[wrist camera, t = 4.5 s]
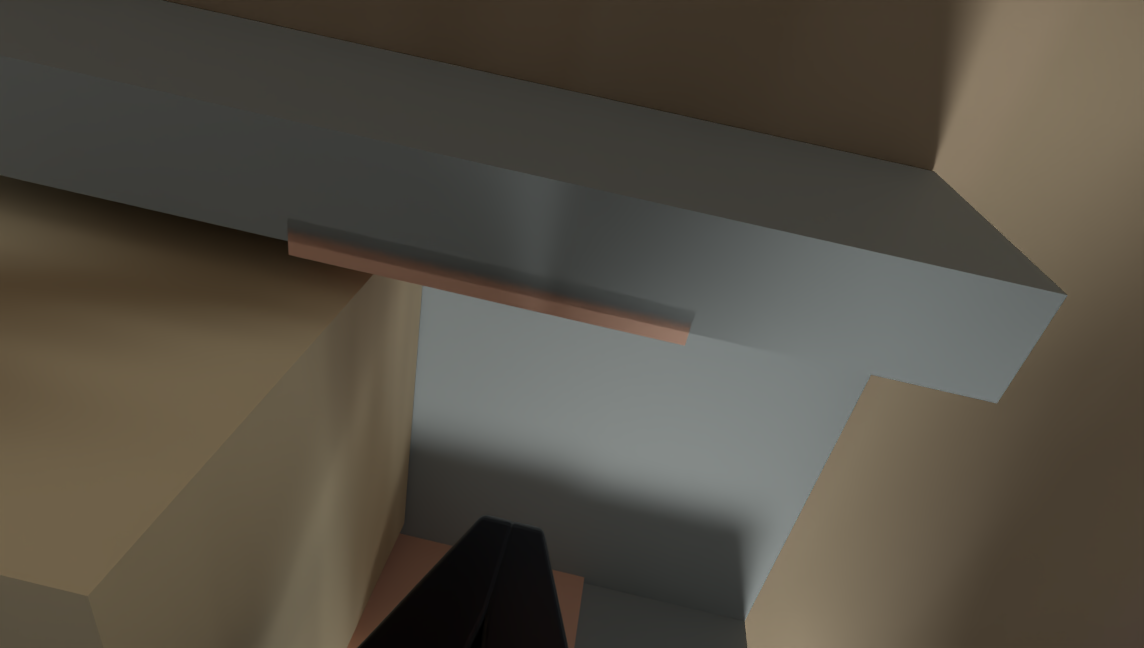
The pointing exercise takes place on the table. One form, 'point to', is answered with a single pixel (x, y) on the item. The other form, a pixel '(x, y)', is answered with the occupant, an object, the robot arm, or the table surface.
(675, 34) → the table surface
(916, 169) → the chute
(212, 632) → the block
